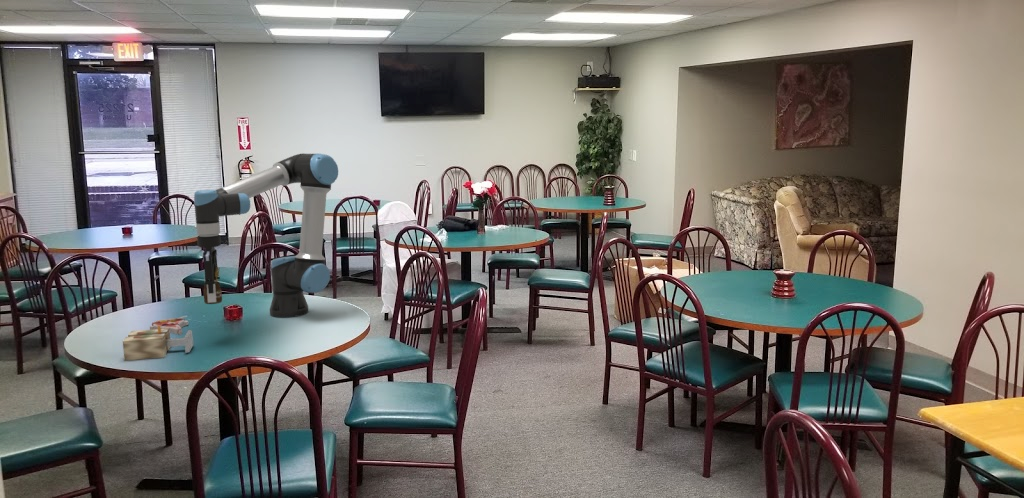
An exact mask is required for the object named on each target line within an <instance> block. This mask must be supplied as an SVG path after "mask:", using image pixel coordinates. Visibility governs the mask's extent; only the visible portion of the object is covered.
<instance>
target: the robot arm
mask: <svg viewBox="0 0 1024 498" xmlns="http://www.w3.org/2000/svg"><path fill="white" fill-rule="evenodd" d="M338 167H339V166H338V164H337V162H336V160H334V158H333V157H332V156H330V155H328V154H324V153H297V154H294V155H291V156H289V157H287V158H285V159H284V158H283V159H282V160H280V161H277V162H275V163H273V165H272V167H269V168H267V169H264V170H262V171H259V172H257V173H255V174H252V175H250V176H247V177H245V178H242V179H239V180H238V181H235V182H233V183H230V184H228V185H225V186H222V187H220V188H217V189H202V190H201V189H199V190H196V191H195V192H194V195H193V206H194V215H195V223H196V224H195V225H194V229H195V230H196V234H197V237H196V238H197V239H196V241H197V247H199V248H204V251H203V252H202V255H203V256H202V258H203V267H204V273H205V275H204V276H205V277H204V278H205V279H204V282H203V286H204V285H205V284H206V285H207V298H208V303H211V302H216V289H215V282H216V276H215V272H216V267H217V268H218V269H219V267H218V257H217V255H218V252H217V248H216V247H220V246H221V244H222V242H221V240H222V239H221V235H220V233H221V225H220V217H226V216H227V217H228V216H237V215H239V216H241V215H245V214H247V213H248V212H249V211H250V209H251V198H253V197H256V196H258V195H260V194H262V193H265V192H268V191H270V190H273V189H274V188H277V187H280V186H283V187H284V186H285V187H286V186H288V185H291V184H300V185H299V186H300V187H299V188H300V189H302V191H303V202H302V214H301V215H302V216H301V225H300V226H301V227H300V236H299V237H300V238H299V252H298V253H297V254H296V255H291V256H290V255H289V256H284V257H277V258H273V259H272V261H271V268H270V270H271V282H272V283H271V284H272V300H271V304H270V306H269V307H270V308H269V315H270V316H271V317H275V318H292V317H300V316H303V315H306V314H308V313H309V312H310V311H309V305H308V302H307V300H306V296H305V295H304V292H305V293H314V294H316V293H319V292H321V291H323V290H324V289H325V288H326V287H327V286H328V284H329V282H330V280H331V271H330V269H329V268H328V266H327V265H326V258H325V256H324V255H323V242H324V229H325V220H326V219H325V217H326V206H327V205H326V204H327V194H328V193H329V192H330V191H331V190H332V185H333V183H335V182H336V180H337V179H338V176H339V168H338ZM216 274H217V272H216ZM219 280H221V276H218V277H217V282H219Z"/></svg>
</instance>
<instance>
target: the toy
mask: <svg viewBox="0 0 1024 498" xmlns="http://www.w3.org/2000/svg"><path fill="white" fill-rule="evenodd" d="M186 317H187V318H188V315H183V316H180V317H176V318H164V319H159V320H155V321H154V322H152V323H151V325H149V330H154V329H158V325H161V329H167V328H169V331H170V334H173V335H174V334H175V335H178V336H179V335H180V336H181V334H183V329H182V328H183V327H185V326H189V320H186V319H184V318H186Z"/></svg>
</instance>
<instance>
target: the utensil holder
mask: <svg viewBox="0 0 1024 498" xmlns="http://www.w3.org/2000/svg"><path fill="white" fill-rule="evenodd" d="M217 267H218V266H217ZM217 267H216V272H217V274H216V272H215V276H216V282H215V289H216V302H211V303H208V298H207V285H206V284H205V285H204V284H203V286H204V289H203V301H204V304H205V305H216V304H220V303H222V302H223V294H222V288H221V284H220V282H219V281H218V282H217V280H218V279H217V277H220V268H219V267H218V268H217ZM203 280H205V272H204V273H203Z"/></svg>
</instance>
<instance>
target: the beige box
mask: <svg viewBox="0 0 1024 498" xmlns="http://www.w3.org/2000/svg"><path fill="white" fill-rule="evenodd" d="M165 339H171V333H170V331H169V328H167V329H161V334H158V329H154V330H150V329H144V330H131V331H130V332H129V333H128V335H127V336H126V337H125V338H124V339H123V340H122V348H123V350H122V351H123V357H124V358H123V359H124V361H134V360H149V359H157V358H165V357H166V355H167V352H168V351H169V350H170V348H171V347H166V341H165Z"/></svg>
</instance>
